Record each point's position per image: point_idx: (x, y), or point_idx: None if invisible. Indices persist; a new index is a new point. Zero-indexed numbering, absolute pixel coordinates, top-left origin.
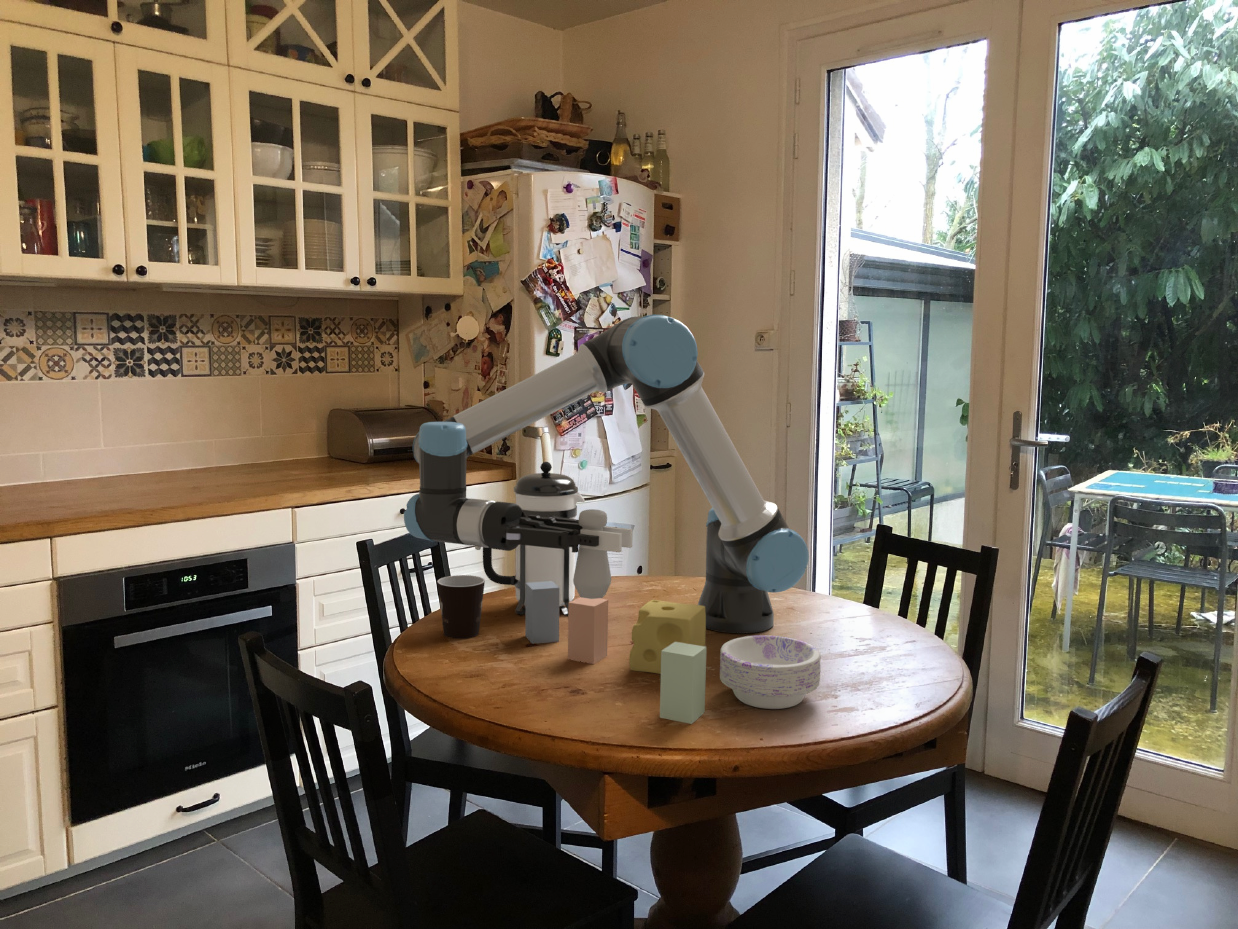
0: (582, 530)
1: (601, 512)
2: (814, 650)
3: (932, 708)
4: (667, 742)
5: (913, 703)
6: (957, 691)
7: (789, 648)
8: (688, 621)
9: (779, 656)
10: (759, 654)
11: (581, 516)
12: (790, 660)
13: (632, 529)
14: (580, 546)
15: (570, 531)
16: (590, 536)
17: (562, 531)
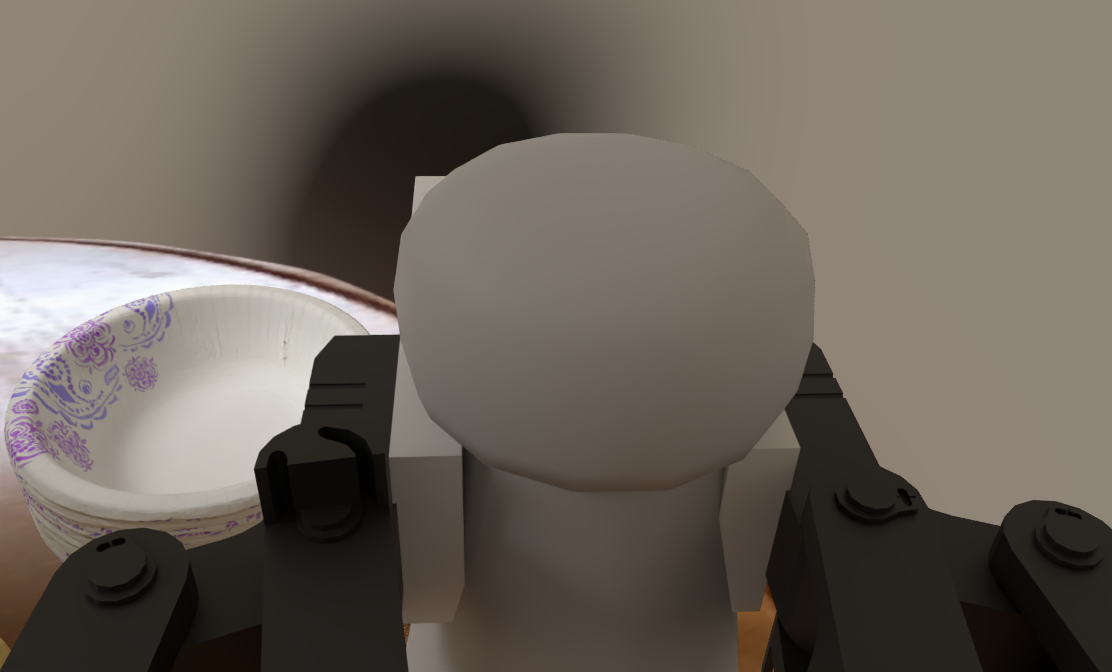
0: (787, 433)
1: (603, 134)
2: (172, 296)
3: (170, 256)
4: (740, 615)
5: (147, 280)
6: (32, 238)
7: (77, 383)
8: (5, 643)
9: (86, 429)
10: (85, 476)
11: (811, 296)
12: (110, 404)
13: (422, 176)
14: (761, 598)
15: (935, 530)
16: (812, 368)
17: (1063, 591)
